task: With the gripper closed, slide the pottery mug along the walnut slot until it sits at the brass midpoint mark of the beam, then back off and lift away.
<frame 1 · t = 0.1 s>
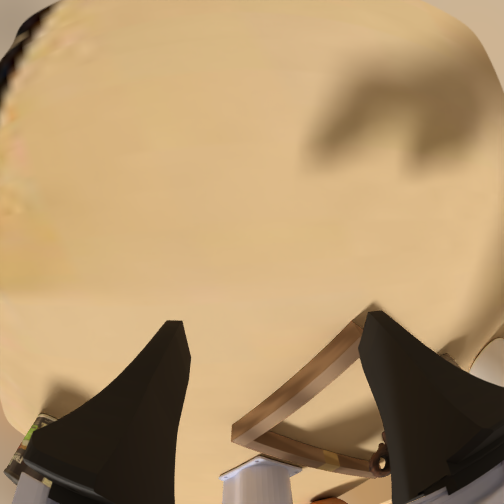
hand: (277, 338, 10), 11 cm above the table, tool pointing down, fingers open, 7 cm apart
onion: (322, 498, 34), on the table
coffee can: (63, 434, 29), on the table
pill bottle: (485, 359, 25), on the table
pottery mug: (399, 431, 28), on the table
walnut slot beam: (371, 423, 27), on the table
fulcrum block: (435, 365, 24), on the table
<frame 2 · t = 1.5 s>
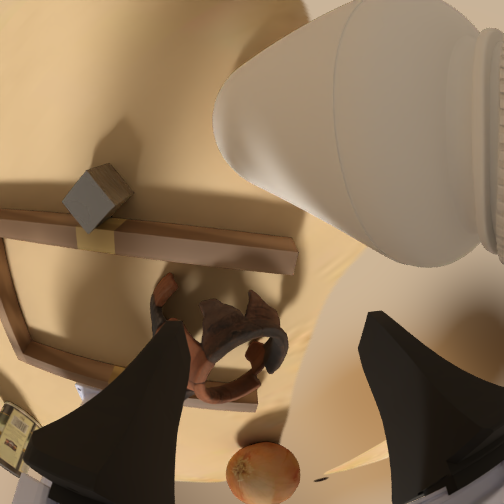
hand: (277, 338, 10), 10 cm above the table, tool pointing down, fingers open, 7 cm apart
onion: (260, 444, 32), on the table
coffee can: (24, 416, 32), on the table
pill bottle: (276, 122, 15), point 1 cm above the table
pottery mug: (205, 320, 22), on the table
walnut slot beam: (117, 314, 21), on the table
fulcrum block: (108, 191, 17), on the table
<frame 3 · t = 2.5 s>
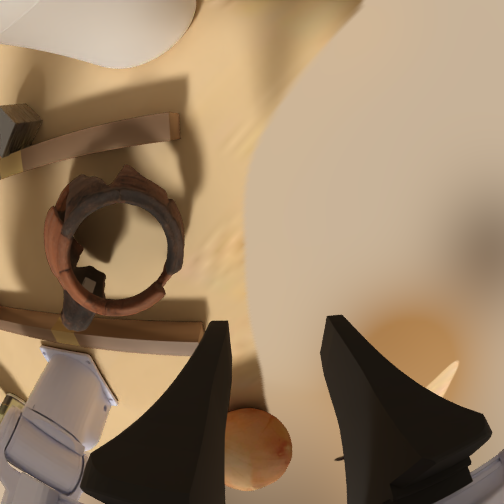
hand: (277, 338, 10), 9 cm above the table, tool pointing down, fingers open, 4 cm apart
onion: (246, 413, 28), on the table
coffee can: (26, 408, 34), on the table
pill bottle: (141, 19, 12), on the table
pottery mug: (117, 233, 19), on the table
walnut slot beam: (48, 248, 19), on the table
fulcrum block: (26, 126, 14), on the table
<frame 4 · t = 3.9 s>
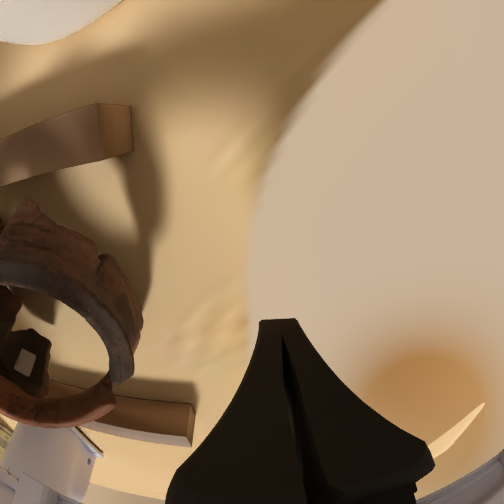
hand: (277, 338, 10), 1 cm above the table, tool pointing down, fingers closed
coffee can: (13, 436, 27), on the table
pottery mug: (56, 288, 11), on the table
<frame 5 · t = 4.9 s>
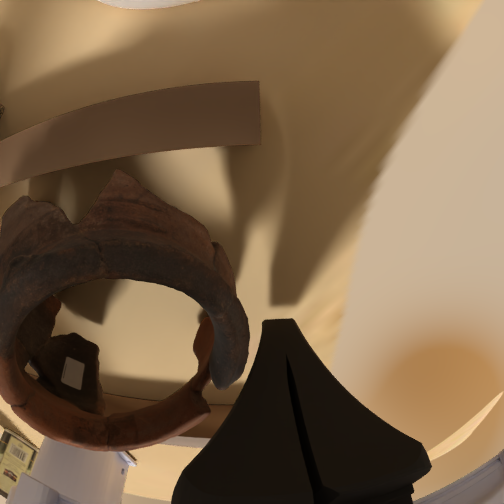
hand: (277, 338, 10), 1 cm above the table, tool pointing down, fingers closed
coffee can: (27, 443, 27), on the table
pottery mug: (111, 285, 11), on the table, touching gripper
walnut slot beam: (28, 307, 11), on the table
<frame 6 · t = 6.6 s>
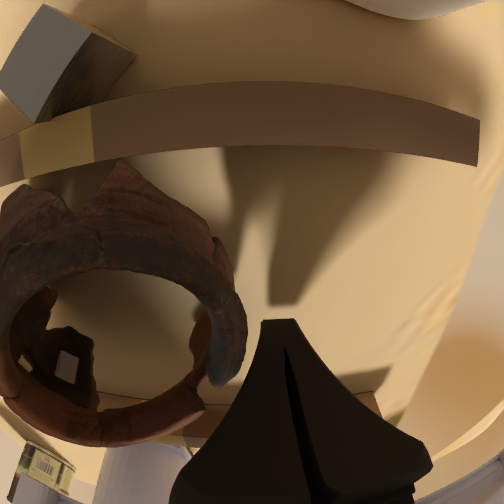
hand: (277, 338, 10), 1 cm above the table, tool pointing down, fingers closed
coffee can: (51, 455, 27), on the table
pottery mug: (108, 279, 11), on the table, touching gripper
walnut slot beam: (129, 315, 11), on the table
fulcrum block: (89, 69, 7), on the table
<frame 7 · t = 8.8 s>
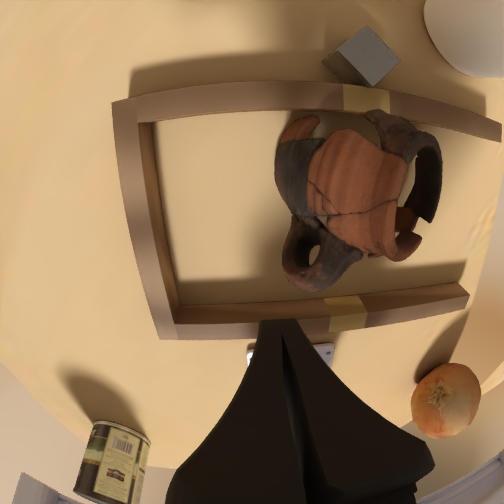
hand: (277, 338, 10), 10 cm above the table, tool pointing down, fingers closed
onion: (431, 373, 28), on the table
coffee can: (122, 434, 34), on the table
pill bottle: (455, 35, 12), on the table
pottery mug: (336, 184, 18), on the table
walnut slot beam: (350, 213, 18), on the table
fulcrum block: (350, 64, 14), on the table
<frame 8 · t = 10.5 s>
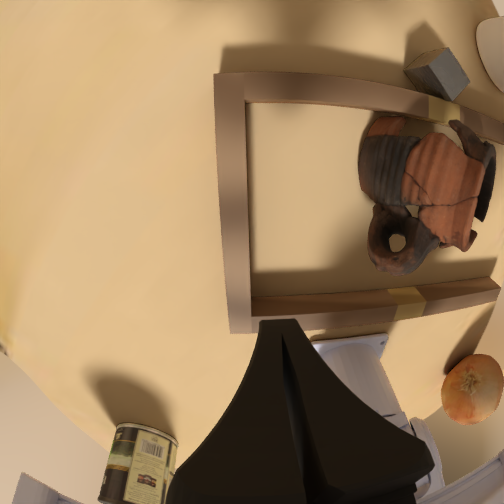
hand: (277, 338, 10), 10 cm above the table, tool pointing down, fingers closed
onion: (458, 364, 28), on the table
coffee can: (147, 437, 34), on the table
pill bottle: (498, 58, 12), on the table
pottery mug: (404, 181, 18), on the table
walnut slot beam: (417, 210, 18), on the table
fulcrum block: (424, 76, 14), on the table
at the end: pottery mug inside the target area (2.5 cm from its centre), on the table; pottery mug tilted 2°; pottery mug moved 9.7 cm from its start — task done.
